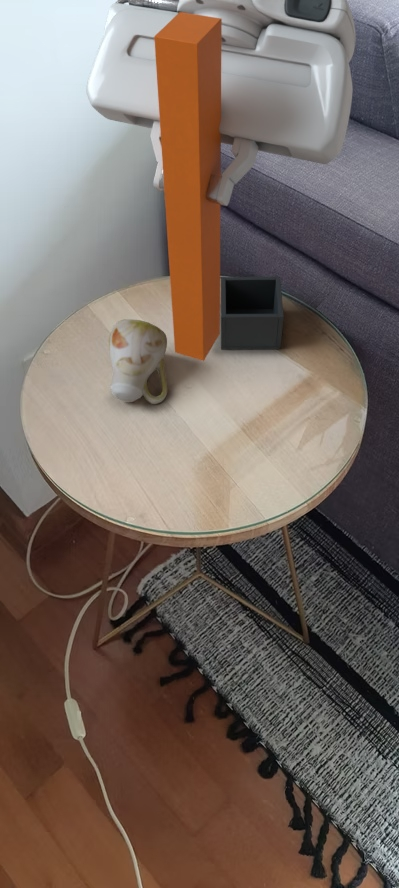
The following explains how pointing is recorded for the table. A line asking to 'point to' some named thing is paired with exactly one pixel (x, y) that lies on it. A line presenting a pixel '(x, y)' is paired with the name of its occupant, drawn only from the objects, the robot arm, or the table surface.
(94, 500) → the table surface
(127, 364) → the mug
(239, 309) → the bin
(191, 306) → the block
